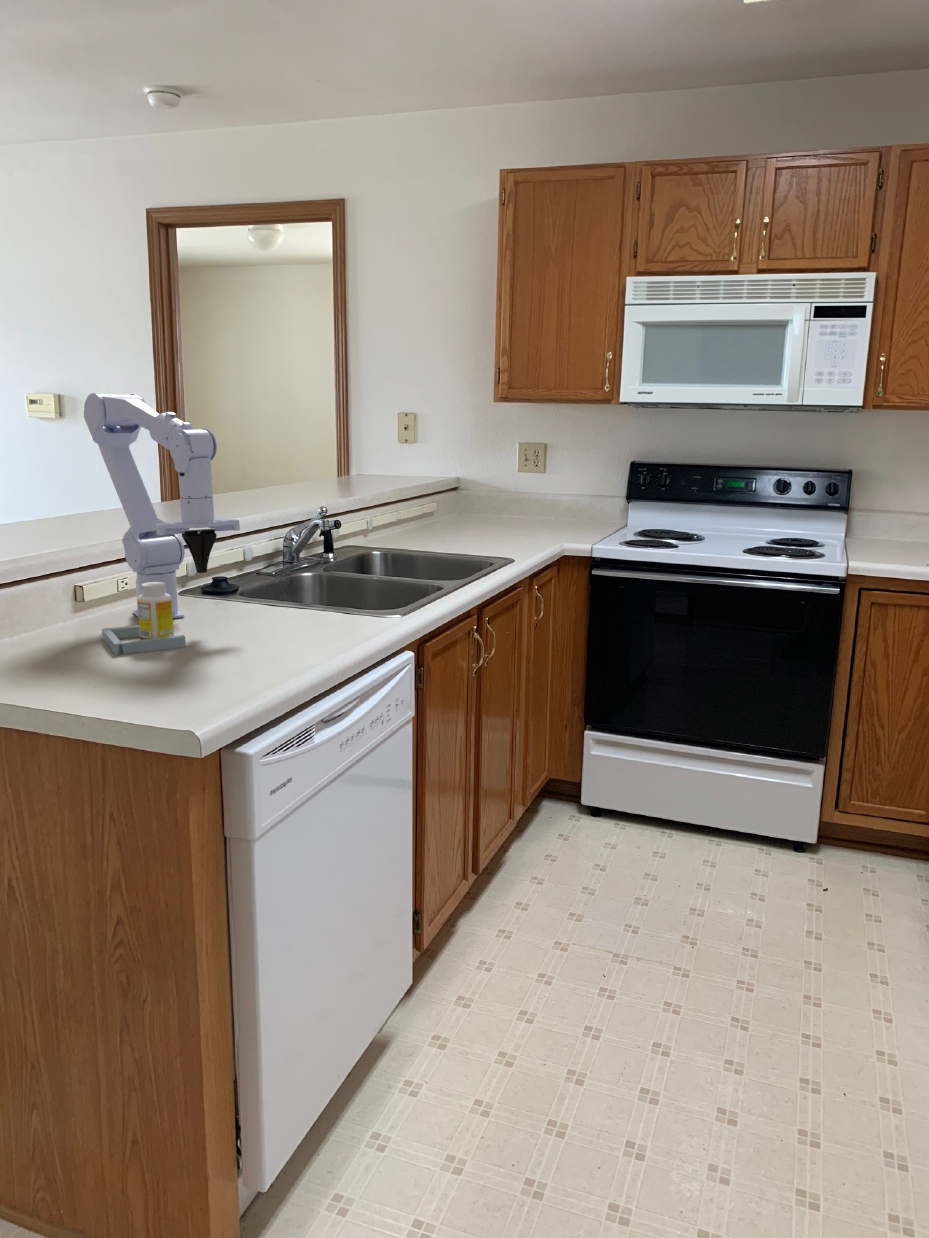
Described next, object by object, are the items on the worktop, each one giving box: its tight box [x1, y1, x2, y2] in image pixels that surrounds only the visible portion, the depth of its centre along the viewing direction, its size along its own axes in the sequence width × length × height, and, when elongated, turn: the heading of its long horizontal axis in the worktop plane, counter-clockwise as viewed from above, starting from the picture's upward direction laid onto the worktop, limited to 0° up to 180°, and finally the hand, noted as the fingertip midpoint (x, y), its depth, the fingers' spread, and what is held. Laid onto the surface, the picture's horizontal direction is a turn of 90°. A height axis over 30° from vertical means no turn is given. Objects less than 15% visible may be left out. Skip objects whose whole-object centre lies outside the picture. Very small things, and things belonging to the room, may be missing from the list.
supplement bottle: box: [136, 582, 175, 640], centre depth 158 cm, size 6×6×10 cm
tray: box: [101, 624, 187, 656], centre depth 158 cm, size 12×11×2 cm
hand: (201, 572), depth 167 cm, fingers closed
